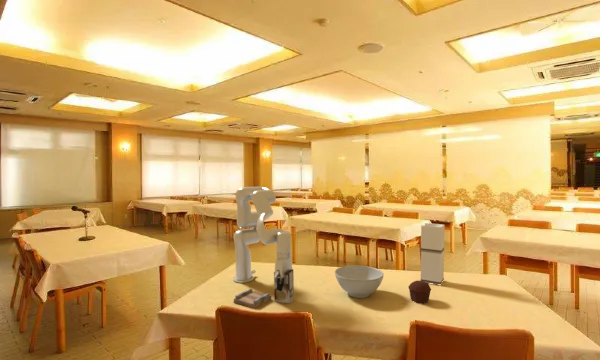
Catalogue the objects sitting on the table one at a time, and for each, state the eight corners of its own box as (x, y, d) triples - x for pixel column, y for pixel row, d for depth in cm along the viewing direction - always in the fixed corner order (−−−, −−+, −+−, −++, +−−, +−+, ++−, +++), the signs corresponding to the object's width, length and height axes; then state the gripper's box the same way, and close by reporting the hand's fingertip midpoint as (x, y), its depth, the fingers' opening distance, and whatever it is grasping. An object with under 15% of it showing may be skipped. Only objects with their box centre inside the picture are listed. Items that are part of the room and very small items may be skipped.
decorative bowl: (387, 289, 195) (387, 268, 194) (377, 306, 170) (377, 283, 170) (343, 282, 206) (343, 263, 205) (328, 298, 182) (327, 276, 181)
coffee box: (294, 299, 180) (294, 269, 180) (289, 304, 174) (289, 273, 174) (278, 297, 183) (278, 268, 183) (273, 301, 177) (273, 271, 177)
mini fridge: (443, 280, 209) (444, 224, 207) (440, 285, 200) (441, 227, 198) (424, 277, 215) (425, 223, 213) (420, 282, 206) (421, 225, 204)
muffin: (419, 306, 171) (419, 286, 170) (403, 298, 181) (403, 280, 180) (435, 301, 176) (436, 283, 176) (419, 294, 186) (419, 276, 186)
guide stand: (251, 294, 188) (251, 287, 188) (271, 299, 181) (271, 292, 181) (233, 302, 176) (233, 296, 176) (254, 308, 169) (254, 301, 169)
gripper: (287, 250, 187) (287, 282, 188) (268, 257, 172) (268, 291, 173) (298, 252, 183) (298, 284, 184) (280, 259, 168) (280, 294, 169)
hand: (284, 287), depth 178 cm, fingers closed on coffee box, 7 cm apart
